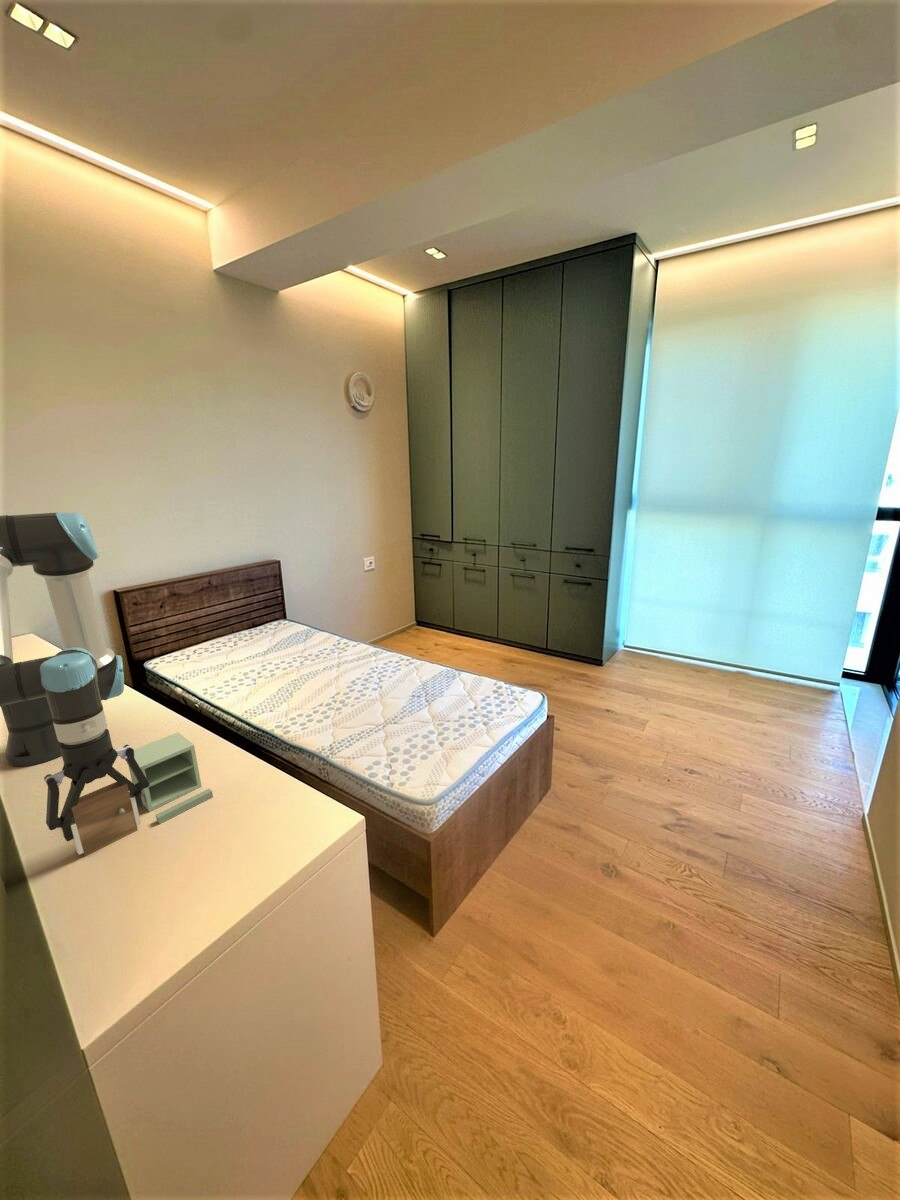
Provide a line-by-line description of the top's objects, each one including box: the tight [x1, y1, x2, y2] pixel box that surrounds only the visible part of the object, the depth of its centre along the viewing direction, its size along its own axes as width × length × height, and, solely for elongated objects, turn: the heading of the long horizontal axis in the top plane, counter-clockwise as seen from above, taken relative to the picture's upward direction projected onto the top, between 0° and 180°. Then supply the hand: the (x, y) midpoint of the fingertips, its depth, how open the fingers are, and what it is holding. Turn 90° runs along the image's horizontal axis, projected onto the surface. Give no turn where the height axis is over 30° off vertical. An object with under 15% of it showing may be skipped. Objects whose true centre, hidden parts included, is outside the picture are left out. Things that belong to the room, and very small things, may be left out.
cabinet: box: [127, 731, 214, 825], centre depth 105 cm, size 15×12×11 cm
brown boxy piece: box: [72, 781, 139, 857], centre depth 92 cm, size 4×9×11 cm, turn 140°
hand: (109, 835), depth 94 cm, fingers closed on brown boxy piece, 9 cm apart
